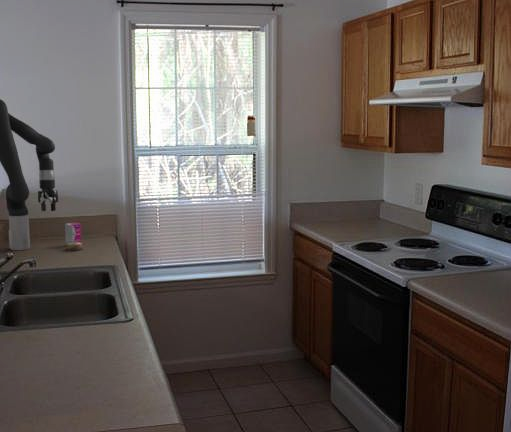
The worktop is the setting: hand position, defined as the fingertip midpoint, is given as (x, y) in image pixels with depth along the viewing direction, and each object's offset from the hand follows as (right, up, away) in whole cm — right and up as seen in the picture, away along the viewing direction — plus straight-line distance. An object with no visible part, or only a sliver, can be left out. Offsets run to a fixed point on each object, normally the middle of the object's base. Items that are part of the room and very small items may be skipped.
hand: (48, 211), depth 346 cm
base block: (+15, -19, -6) cm, 25 cm away
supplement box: (+12, -18, +4) cm, 22 cm away
